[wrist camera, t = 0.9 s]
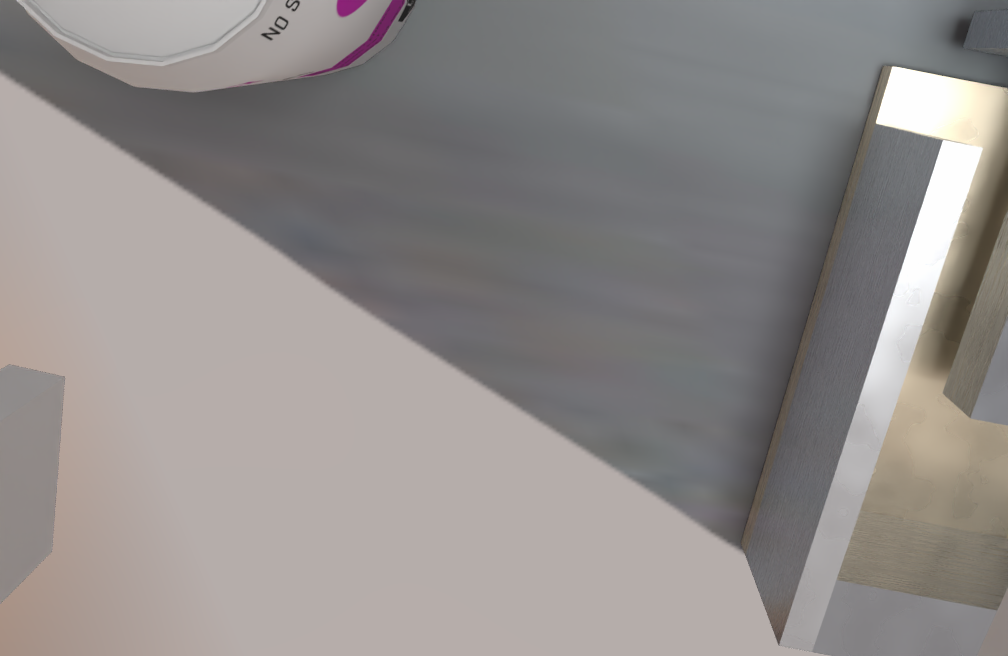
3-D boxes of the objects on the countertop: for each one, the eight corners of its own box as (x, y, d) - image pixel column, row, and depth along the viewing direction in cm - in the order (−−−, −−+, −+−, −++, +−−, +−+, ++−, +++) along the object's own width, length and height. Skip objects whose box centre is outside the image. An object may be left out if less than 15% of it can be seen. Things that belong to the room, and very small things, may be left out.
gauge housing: (882, 65, 33) (969, 71, 26) (1210, 128, 33) (1383, 151, 26) (740, 543, 39) (780, 650, 32) (1018, 595, 39) (1116, 713, 32)
